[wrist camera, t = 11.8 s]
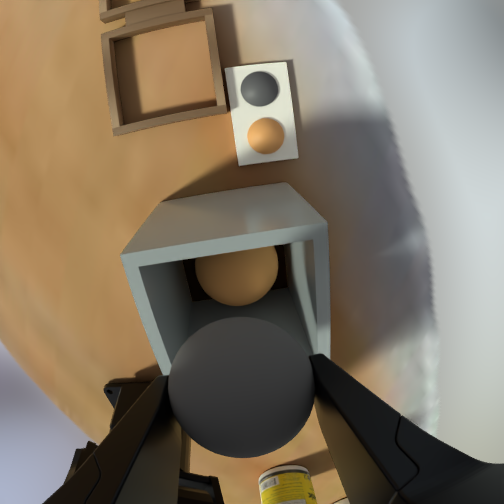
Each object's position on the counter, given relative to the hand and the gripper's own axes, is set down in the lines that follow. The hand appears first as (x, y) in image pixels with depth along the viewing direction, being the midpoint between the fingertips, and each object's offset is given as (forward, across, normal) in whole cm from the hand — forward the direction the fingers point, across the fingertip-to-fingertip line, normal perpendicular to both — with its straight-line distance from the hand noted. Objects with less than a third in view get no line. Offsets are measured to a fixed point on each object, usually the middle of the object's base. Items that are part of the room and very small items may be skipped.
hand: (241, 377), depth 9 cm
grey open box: (+10, 0, 0) cm, 10 cm away
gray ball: (+2, 0, 0) cm, 2 cm away
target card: (+10, -2, -7) cm, 12 cm away
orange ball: (+10, 0, 0) cm, 10 cm away
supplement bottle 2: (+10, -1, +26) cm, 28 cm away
